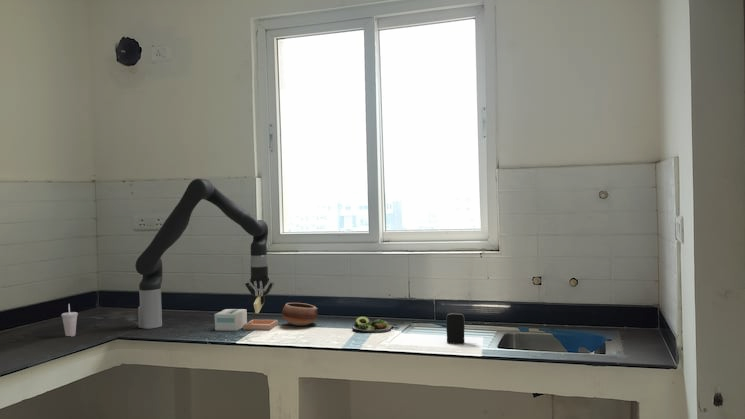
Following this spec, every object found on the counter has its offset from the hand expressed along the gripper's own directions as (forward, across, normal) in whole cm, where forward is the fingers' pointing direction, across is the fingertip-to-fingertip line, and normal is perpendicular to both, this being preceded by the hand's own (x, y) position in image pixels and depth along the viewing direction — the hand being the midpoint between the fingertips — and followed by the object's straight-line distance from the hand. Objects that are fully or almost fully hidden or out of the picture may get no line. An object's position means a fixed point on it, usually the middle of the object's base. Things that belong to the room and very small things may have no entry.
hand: (260, 304), depth 268 cm
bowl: (+11, +16, +5) cm, 20 cm away
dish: (+10, 0, 0) cm, 10 cm away
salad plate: (+11, +49, +1) cm, 51 cm away
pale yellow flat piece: (+1, 0, -6) cm, 6 cm away
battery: (+11, +86, -21) cm, 90 cm away
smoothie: (+10, -79, -21) cm, 82 cm away
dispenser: (+10, -14, -1) cm, 17 cm away
